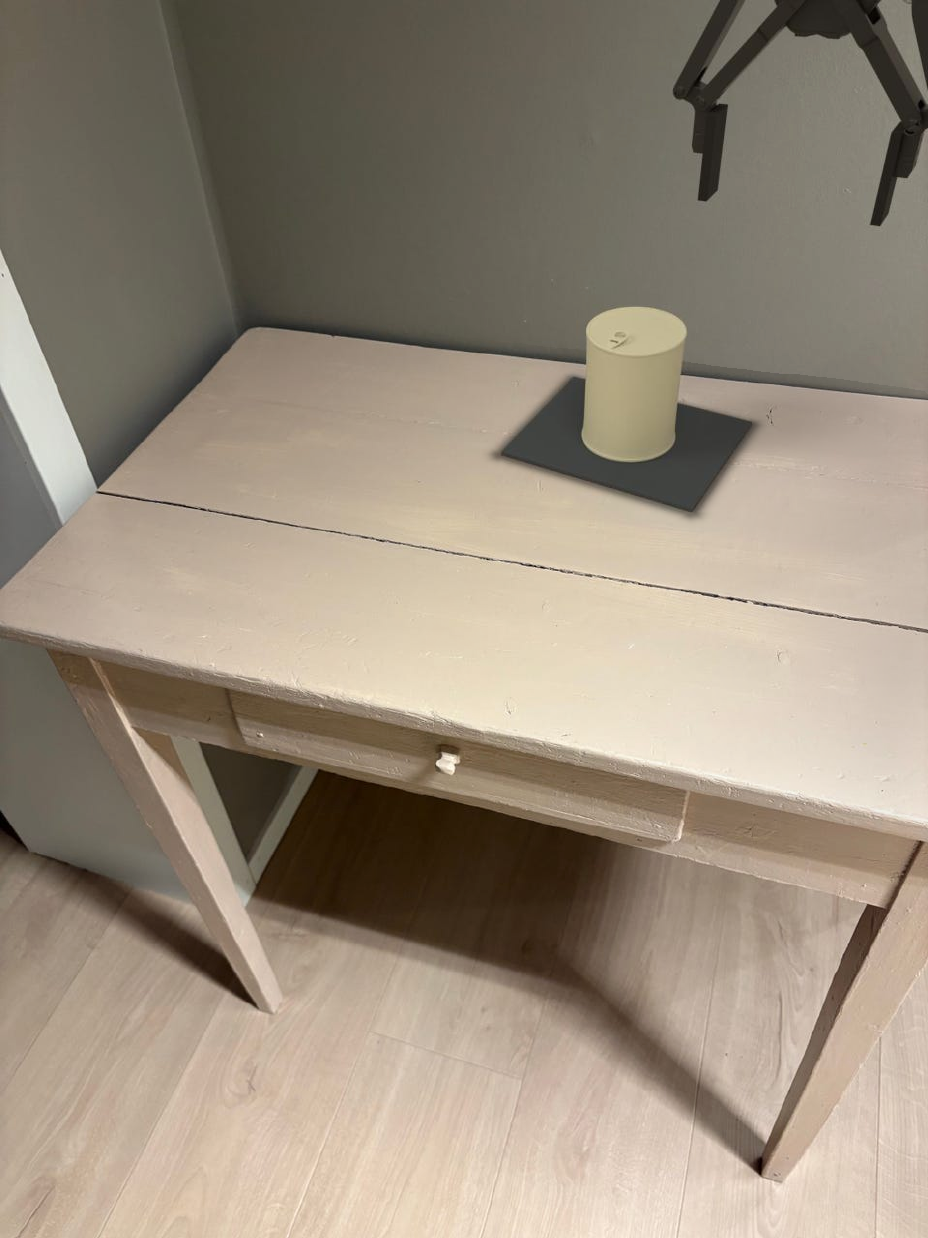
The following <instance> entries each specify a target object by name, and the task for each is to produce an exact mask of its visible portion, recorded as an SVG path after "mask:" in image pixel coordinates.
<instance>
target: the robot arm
mask: <svg viewBox="0 0 928 1238" xmlns="http://www.w3.org/2000/svg"><path fill="white" fill-rule="evenodd" d="M773 1H774V3H775V5H776V7H775V8H774V9H773V10H772V11H771V13H769V14H768V16H767V17H766V18H765V19H764V20H763V22H761V24H760V25H759V26H758V27H757V28H756V30H755V31H754V32H753V33H752V35H750V36H749V37H748V38H747V40H746V41H745V42H744V43H743V44H742V45H741V46H740V47H739V49H738V50H736V51H735V53H734V54H733V55H732V56H731V58H729V60H728V61H727V62H726V63H725V64H724V65H723V66H722V67H721V69H719V71H718V72H717V73H716V74H715V75H714V77H712V78H711V80H710V81H708V83H705V82H703V81H702V80H703V78H704V77H705V74H706V73H707V71H708V69H709V67H710V65H711V64H712V62H713V61H714V58H715V56H716V55H717V54H718V51H719V49H720V48H721V46H722V44H723V42H724V41H725V38H726V37H727V35H728V33H729V31H730V29H731V28H732V26H733V24H734V22H735V20H736V19H737V17H738V15H739V13H740V11H741V10H742V8H743V6H744V4H745V2H746V0H719V1H718V3H717V5H716V7H715V9H714V10H713V12H712V14H711V16H710V18H709V20H708V22H707V23H706V25H705V27H704V29H703V31H702V33H701V35H700V37H699V39H698V40H697V42H696V44H695V46H694V48H693V50H692V52H691V53H690V55H689V57H688V59H687V60H686V63H685V64H684V67H683V69H682V71H681V72H680V74H679V75H678V77H677V80H676V82H675V84H674V85H673V88H672V95H673V97H674V98H675V99H676V100H678V101H681V100H683V101H685V102H687V103H688V104H691V106H692V107H693V109H694V119H693V129H692V137H691V138H692V140H691V148H692V152H693V153H694V154H701V164H700V173H699V182H698V183H699V184H698V191H697V201H699V202H708V201H709V200H710V199H711V198H712V197H713V196H714V195H715V194H716V193H717V192H718V191H719V185H720V176H721V175H720V174H721V167H722V159H723V151H724V144H725V143H724V142H725V135H726V127H727V126H726V125H727V118H728V109H729V104H728V103H718V100H719V99H720V98H721V97H722V96H723V95H724V93H725V92H727V90H728V89H729V88H730V87H731V86H732V85H733V84H734V83H735V82H736V80H738V79H739V77H741V75H742V74H743V73H744V72H746V70H747V69H748V68H749V67H750V66H751V64H752V63H753V62H755V60H756V59H757V58H758V57H759V56H760V55H761V54H762V53H763V52H764V51H765V50H766V49H767V48H768V46H769V45H770V44H771V43H772V42H773V41H774V40H775V38H777V37H778V35H779V34H780V33H781V32H783V30H784V29H786V28H787V29H788V30H789V32H791V33H792V34H794V37H799V38H800V37H801V38H807V37H811V36H812V37H813V36H816V35H817V36H820V37H823V38H825V39H828V40H840V39H841V38H842V37H846V36H848V35H850V34H851V36H852V38H853V40H854V41H855V44H856V45H857V47H858V48H859V49H860V50H862V52H863V53H864V55H865V57H866V59H867V61H868V62H869V64H870V67H871V68H872V71H874V74H875V75H876V77H877V80H878V81H879V83H880V85H881V87H882V88H883V91H884V93H885V94H886V96H887V98H888V100H889V102H890V103H891V105H892V107H893V110H894V111H895V113H896V115H897V117H898V118H899V120H900V121H899V122H898V123H897V125H896V126H895V127H894V129H893V130H892V131H891V132H890V137H889V141H888V145H887V149H886V154H885V158H884V162H883V167H882V171H881V176H880V179H879V183H878V188H877V193H876V197H875V201H874V205H873V209H872V214H871V218H870V222H869V226H875V227H881V226H882V224H883V223H884V221H885V220H886V218H887V217H888V216H889V213H890V209H891V205H892V201H893V197H894V193H895V189H896V185H897V180H898V179H899V178H900V179H908V178H909V176H910V175H911V173H912V172H913V171H914V169H915V167H916V166H917V163H918V159H919V155H920V150H921V147H922V144H923V138H924V135H925V131H926V130H927V129H928V103H927V101H926V100H925V97H924V96H923V94H922V92H921V90H920V88H919V86H918V84H917V82H916V81H915V79H914V77H913V74H912V73H911V71H910V69H909V67H908V65H907V64H906V61H905V60H904V58H903V55H902V54H901V52H900V50H899V48H898V46H897V44H896V43H895V41H894V39H893V37H892V35H891V33H890V31H889V29H888V23H887V21H886V19H885V17H884V15H883V13H882V11H881V9H880V8H879V6H878V5H879V4H880V2H881V1H882V0H773ZM902 1H903V2H904V3H905V4H907V5H910V6H911V7H910V9H911V19H912V25H913V30H914V34H915V38H916V44H917V48H918V52H919V57H920V62H921V67H922V70H923V76H924V80H925V84H926V89H927V90H928V0H902Z"/></svg>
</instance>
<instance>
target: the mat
mask: <svg viewBox="0 0 928 1238" xmlns="http://www.w3.org/2000/svg"><path fill="white" fill-rule="evenodd" d="M585 382H586V378H585V379H584V378H581V377H577V376H573V377H572V378H571V379H570V380H569V381H568V382H567V383H565V385H564V386H563V387H562V388H561V389H560V390H559V391H558V392H557V394H555V395H554V397H552V398H551V399H550V400H549V401H548V402H547V404H545V405H544V407H543V408H541V409H540V411H539V412H537V414H536V415H535V416H534V417H532V419H531V420H530V421H529V422H528V423H527V424H526V425H525V426H524V427H523V428H522V429H521V430H520V431H519V432H518V434H516V436H515V437H513V438H512V439H511V440H510V441H509V442H508V444H507V445H506V446H504V448H502V450H501V451H500V455H501V456H504V457H507V458H510V459H514V460H517V461H521V462H524V463H528V464H531V465H533V466H537V467H541V468H543V469H548V470H550V471H554V472H557V473H560V474H564V475H568V476H571V477H575V478H577V479H581V480H584V481H588V482H591V483H594V484H598V485H601V486H603V487H608V488H612V489H614V490H618V491H621V492H624V493H628V494H630V495H634V496H637V497H641V498H645V499H648V500H651V501H653V502H658V503H661V504H664V505H667V506H671V507H673V508H678V509H681V510H684V511H688V512H690V513H691V512H693V511H694V510H695V509H696V507H697V506H698V505H699V503H700V501H701V500H702V499H703V497H704V495H706V492H707V491H708V489H709V488H710V486H711V485H712V483H713V482H714V481H715V479H717V476H718V475H719V474H720V473H721V471H722V470H723V468H724V466H725V465H726V464H727V462H728V460H729V459H730V458H731V456H732V455H733V453H734V452H735V450H736V449H737V447H738V446H739V445H740V443H741V442H742V440H743V439H744V437H745V436H746V434H747V433H748V431H749V430H750V428H751V427H752V425H753V421H751V420H747V419H743V418H740V417H739V418H738V417H736V416H732V415H727V414H724V413H719V412H717V411H716V412H715V411H712V410H708V409H704V408H699V407H696V406H691V405H688V404H683V403H680V402H677V411H676V421H675V441H674V444H673V446H672V447H671V448H670V450H668V451H667V452H666V453H665V454H663V455H661V456H659V457H657V458H655V459H652V460H648V461H643V462H633V463H628V462H617V461H612V460H608V459H605V458H602V457H600V456H598V455H596V454H594V453H593V452H591V451H590V450H589V449H588V448H587V447H586V446H585V444H584V442H583V440H582V429H583V423H584V407H585Z"/></svg>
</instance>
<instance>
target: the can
mask: <svg viewBox="0 0 928 1238" xmlns="http://www.w3.org/2000/svg"><path fill="white" fill-rule="evenodd" d="M687 329H688V328H687V326H686V324H685V323H684V322H683V321H682V319H680V318H679V317H678V316H676V315H674V314H672V313H670V312H668V311H666V310H662V309H658V308H653V307H648V306H647V307H645V306H625V307H617V308H613V309H609V310H605V311H603V312H601V313H599V314H597V315H596V316H594V317H593V318H592V319H591V320H590V321H589V322H588V324H587V326H586V329H585V335H586V353H585V354H586V355H585V357H586V358H585V380H586V382H585V407H584V423H583V429H582V440H583V442H584V444H585V446H586V447H587V448H588V449H589V450H590V451H591V452H593V453H594V454H596V455H598V456H600V457H602V458H605V459H608V460H612V461H617V462H628V463H633V462H643V461H648V460H652V459H655V458H657V457H659V456H661V455H663V454H665V453H666V452H667V451H668V450H670V448H671V447H672V446H673V444H674V441H675V421H676V411H677V403H679V402H678V401H679V392H680V384H681V383H680V382H681V376H682V375H681V374H682V369H683V368H682V366H683V360H684V351H685V344H686V338H687V336H688V330H687Z"/></svg>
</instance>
